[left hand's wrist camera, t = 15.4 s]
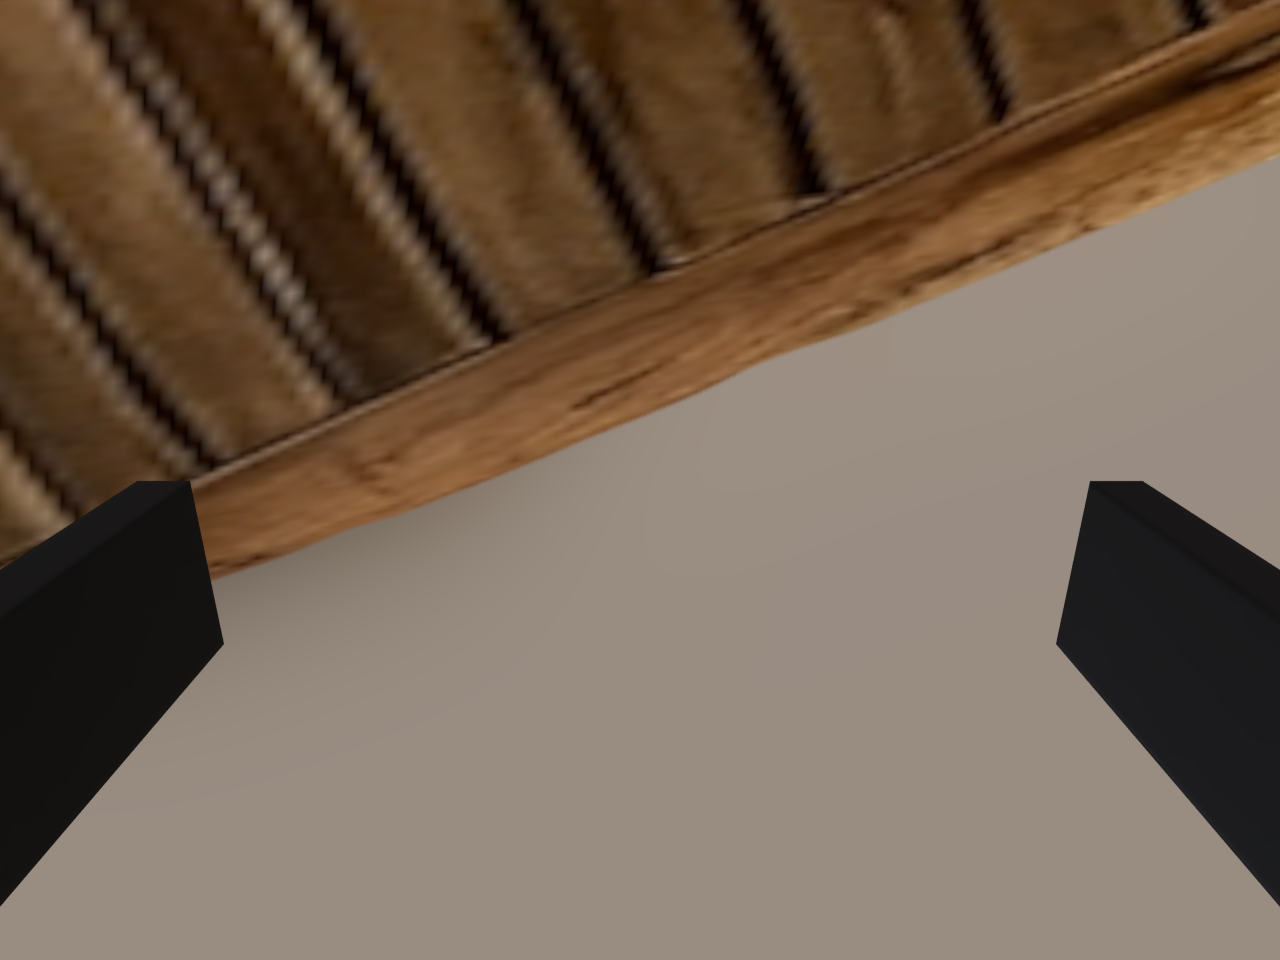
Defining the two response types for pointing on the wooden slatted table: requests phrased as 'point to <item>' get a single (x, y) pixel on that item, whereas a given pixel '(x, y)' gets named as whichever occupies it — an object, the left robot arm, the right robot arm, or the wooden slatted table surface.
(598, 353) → the wooden slatted table surface
